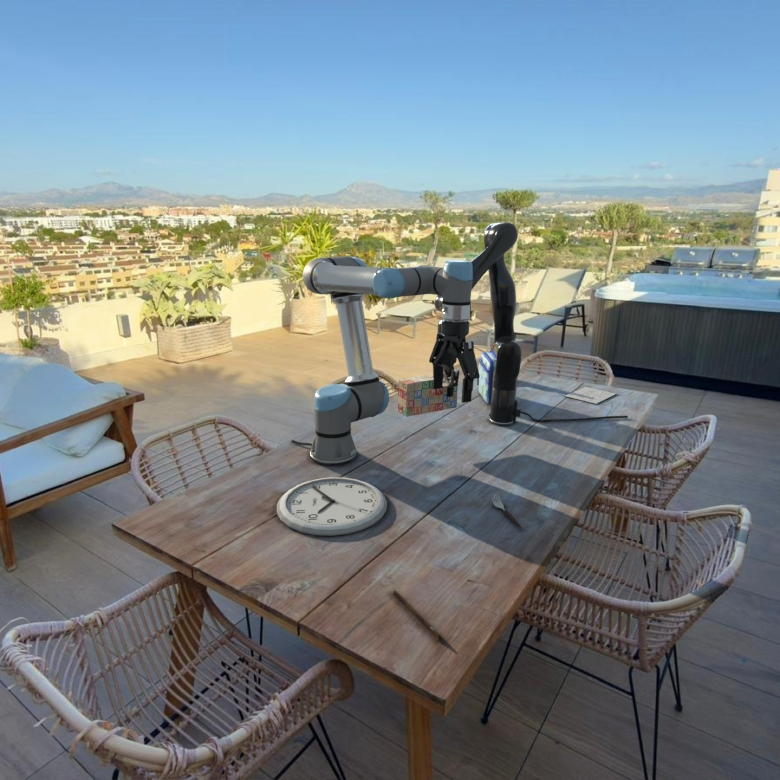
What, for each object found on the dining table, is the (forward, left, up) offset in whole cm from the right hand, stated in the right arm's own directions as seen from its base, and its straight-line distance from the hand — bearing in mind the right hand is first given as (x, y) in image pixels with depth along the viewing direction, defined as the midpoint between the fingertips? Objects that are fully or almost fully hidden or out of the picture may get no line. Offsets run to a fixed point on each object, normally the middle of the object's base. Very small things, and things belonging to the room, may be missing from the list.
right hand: (444, 393), depth 192 cm
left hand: (+13, +41, +13) cm, 45 cm away
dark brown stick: (+39, +91, -15) cm, 100 cm away
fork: (+4, +60, -15) cm, 62 cm away
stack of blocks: (+7, +2, -5) cm, 9 cm away
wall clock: (+48, +45, -15) cm, 68 cm away
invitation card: (-82, -28, -15) cm, 88 cm away
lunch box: (-34, -31, -15) cm, 49 cm away
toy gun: (-48, -66, -15) cm, 83 cm away
